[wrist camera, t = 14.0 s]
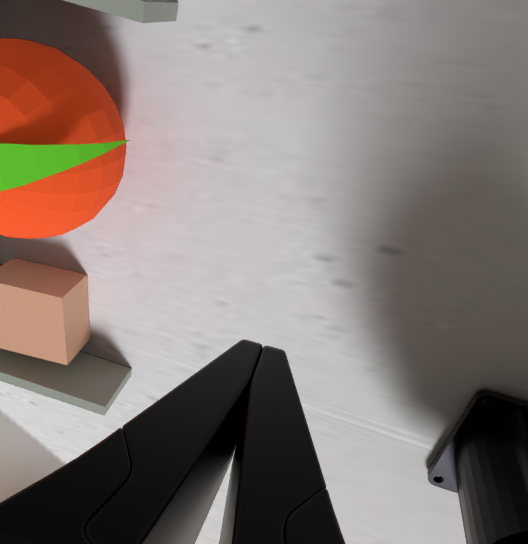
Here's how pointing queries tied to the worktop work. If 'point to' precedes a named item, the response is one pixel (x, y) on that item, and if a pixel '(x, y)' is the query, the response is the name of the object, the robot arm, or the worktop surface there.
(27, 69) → the clementine
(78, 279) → the tile
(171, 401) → the robot arm
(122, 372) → the tray
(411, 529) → the worktop surface
